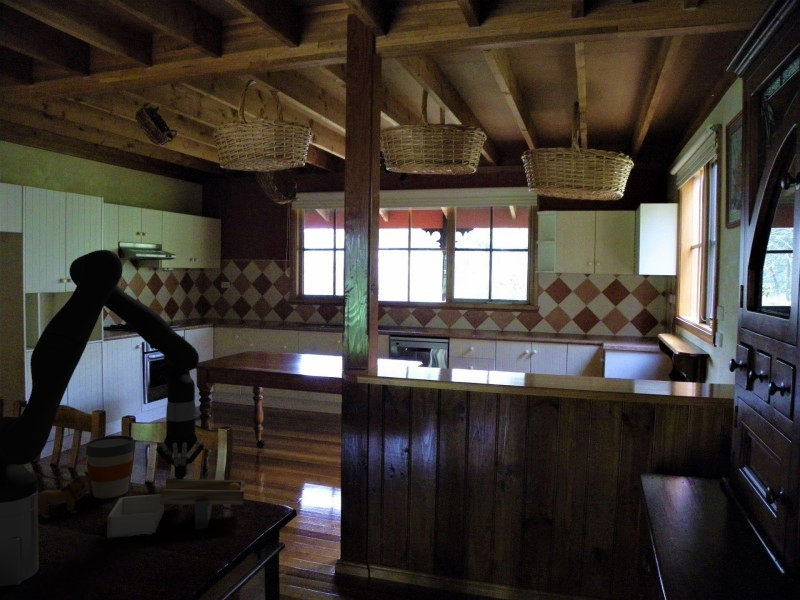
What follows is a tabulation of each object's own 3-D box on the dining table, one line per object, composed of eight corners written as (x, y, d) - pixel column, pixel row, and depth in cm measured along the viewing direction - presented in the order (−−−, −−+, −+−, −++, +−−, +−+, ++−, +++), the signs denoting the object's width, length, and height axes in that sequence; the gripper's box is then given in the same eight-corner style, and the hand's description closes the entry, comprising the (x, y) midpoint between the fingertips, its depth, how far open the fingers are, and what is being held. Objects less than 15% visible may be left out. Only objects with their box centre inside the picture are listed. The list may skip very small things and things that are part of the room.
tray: (154, 533, 134) (154, 513, 134) (107, 538, 132) (107, 517, 132) (163, 512, 147) (163, 493, 147) (120, 515, 144) (120, 497, 144)
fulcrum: (207, 528, 138) (207, 500, 138) (194, 529, 137) (195, 501, 137) (211, 509, 149) (211, 484, 149) (200, 510, 148) (200, 484, 148)
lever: (242, 507, 141) (244, 492, 141) (159, 506, 136) (160, 491, 136) (244, 482, 158) (246, 469, 158) (170, 481, 153) (172, 467, 153)
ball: (239, 497, 144) (240, 485, 144) (226, 496, 143) (228, 484, 143) (240, 492, 147) (241, 480, 147) (227, 492, 146) (229, 480, 146)
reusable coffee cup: (90, 487, 163) (89, 437, 163) (136, 482, 168) (136, 433, 167) (82, 503, 152) (81, 449, 151) (132, 497, 156) (132, 445, 155)
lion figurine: (87, 503, 152) (86, 471, 151) (91, 509, 148) (91, 476, 147) (23, 518, 142) (22, 483, 142) (26, 525, 138) (25, 489, 138)
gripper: (152, 421, 146) (152, 485, 147) (205, 419, 149) (204, 481, 150) (157, 414, 153) (157, 475, 154) (207, 412, 156) (207, 472, 157)
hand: (180, 478), depth 152 cm, fingers closed
